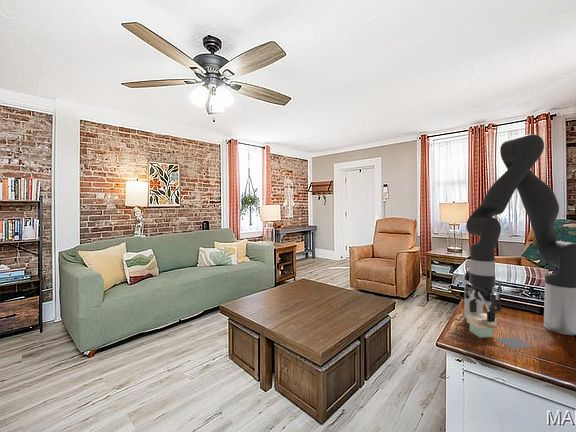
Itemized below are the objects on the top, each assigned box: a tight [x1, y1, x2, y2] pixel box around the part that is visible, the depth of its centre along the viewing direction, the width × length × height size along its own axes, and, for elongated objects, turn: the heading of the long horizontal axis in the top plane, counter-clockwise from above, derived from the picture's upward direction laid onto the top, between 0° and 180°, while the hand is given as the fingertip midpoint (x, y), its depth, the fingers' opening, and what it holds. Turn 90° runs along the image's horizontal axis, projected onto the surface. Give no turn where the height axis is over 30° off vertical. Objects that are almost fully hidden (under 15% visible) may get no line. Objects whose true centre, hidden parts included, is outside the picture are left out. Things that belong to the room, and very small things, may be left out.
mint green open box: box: [469, 324, 494, 339], centre depth 99 cm, size 5×5×4 cm
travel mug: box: [463, 271, 484, 321], centre depth 111 cm, size 6×7×20 cm
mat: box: [494, 337, 534, 349], centre depth 93 cm, size 8×6×1 cm
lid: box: [466, 312, 498, 329], centre depth 99 cm, size 7×6×3 cm
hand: (481, 316), depth 99 cm, fingers open, 8 cm apart
